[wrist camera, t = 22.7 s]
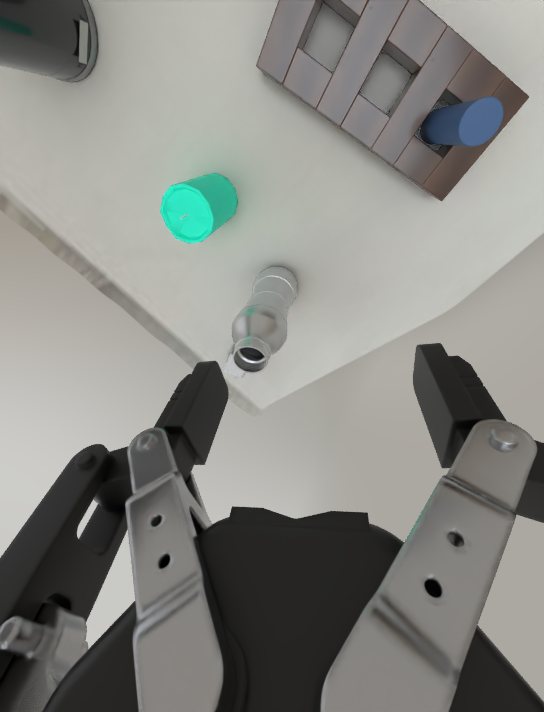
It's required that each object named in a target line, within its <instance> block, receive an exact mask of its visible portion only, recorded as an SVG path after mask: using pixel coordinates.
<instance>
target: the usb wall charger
mask: <svg viewBox="0 0 544 712" xmlns="http://www.w3.org/2000/svg"><path fill="white" fill-rule="evenodd" d="M235 345H236V344H234V346H233V348H232V351H231V353H230V355H229V357H228V360H227V362H226V364H225V366H224V371H225V372H227V373H229V374H231V375H234V376H236V377H238V378H243V377H244V375H245V373H246V372H244V371H242V370H240V369H239V368H238V367H236V365H235V364H234V362H233V352H234V350H235Z"/></svg>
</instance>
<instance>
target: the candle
mask: <svg viewBox="0 0 544 712" xmlns="http://www.w3.org/2000/svg"><path fill="white" fill-rule="evenodd" d="M237 203H238V201H237V196H236V191H235V188H234V187H233V186H232V184H231V183H230V182H229V180H228V179H227V178H225V177H223V176H221V175H219V174H216V173H214V174H209V175H204V176H201V177H198V178H195V179H191V180H188V181H185V182H182V183H178V184H175V185H172V186H170V187H169V189H168V190H167V191H166V193H165V194H164V196H163V199H162V205H161V210H160V212H161V215H162V217H163V219H164V221H165V224H166V226H167V227H168V229H169V230H170V231H171V233H172V234H173V235H174V237H175V238H176V239H179V240H182V241H184V242H187V243H196V242H202V241H203V240H204V239H206V238H207V237H208V236H209V235H210V234H212V233H213V232H214V231H215V230H216V229H218V228H219V227H220V226H221V225H223V224H224V223H225V222H226V221H227V220H228V219H229V218H231V217H232V216H233V215H234V214H235V210H236V207H237Z"/></svg>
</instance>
